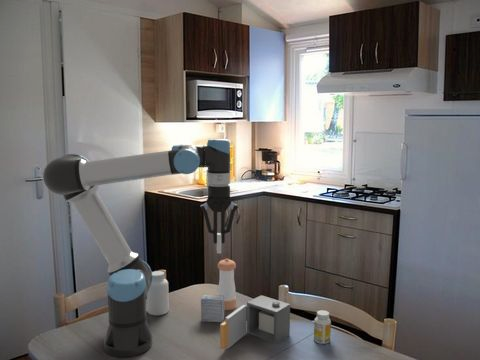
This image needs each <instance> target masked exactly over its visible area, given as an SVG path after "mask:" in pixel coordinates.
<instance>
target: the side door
mask: <svg viewBox="0 0 480 360" xmlns="http://www.w3.org/2000/svg"><path fill="white" fill-rule="evenodd" d="M246 316H247V304H242V305H241V306H240V307H238V308H237V309H234V311H233V312H231V313H229V314H228V315H227V316H225V317H224V320H223V322H221V323H220V326H219V331H220V332H219V341H220V343H219V344H220V345H219V347H220V350H225V349H230V348H231V347H232V346H233V345H234V344H236V343H237V342H238V341H239V340H240V339H242V338H243V337H244V336H245V335H246V334H247V321H246Z"/></svg>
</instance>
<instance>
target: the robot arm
mask: <svg viewBox="0 0 480 360" xmlns="http://www.w3.org/2000/svg"><path fill="white" fill-rule="evenodd" d="M199 168H207V184H208V185H207V199H206V202H205V203H203V204H200V210H201V211H202V213H203V216H204V220H205V223H206V228H207V231H208V233H209V234H212V235H213V236H212V237H213V239H212V240H213V244H214V245H215V244H216V254H222V244H225V239H226V238H225V237H226V236H225V235H226V234H227V233H230V232H231V228H232V224H233V221H234V216H235V214H236V213H235V212H236V211H237V209H238V204H236V203H234V202H232V199H231V186H230V185H229V184H231V143H230V141H229V140H228V139H226V138H210V139H207V143H206V144H202V145H201V144H199V145H197V144H177V145H176V144H175V145H172V147H171V149H170V150H164V151H163V150H162V151H158V152H157V151H156V152H150V153H149V152H148V153H141V154H134V155H128V156H127V155H126V156H120V157H114V158H113V157H112V158H104V159H97V160H91V161H90V160H89V159H87V157H85V156H83V155H81V154H76V153H75V154H74V153H73V154H72V153H70V154H69V153H68V154H66V155H63V156H60V157H58V158H55V159H53V160H51V161H50V162H48V163H47V164H46V166H45V168H44V170H43V173H42V178H43V179H42V180H43V182H44V185H45V187H46V188H47V189H48V190H49V191H50V192H52V193H54V194H56V195H61V196H63V198H64V199H65V202H67V203H71V204H73V205H74V208H75V209H76V210H77V212H78V214H79V216H80V218H81V219H82V220H83V221H82V222H84V224H85V226H86V227H87V229H88V231H89V233H90V235H91V236H92V238H93V240H94V241H95V243H96V245H97V247H98V249H99V250H100V252H101V254H102V256H103V257H104V259H105V260H106V262H107V263H108V267H107V272H108V275H109V277H108V279H107V286H106V292H107V304H108V305H107V309H108V312H107V313H108V325H107V328H106V329H107V330H106V333H105V336H104V340H103V349H104V352H105V353H107V354H108V355H110V356H113V357H119V358H127V357H134V356H138V355H141V354H143V353H145V352H147V351H148V350H149V349H151V347H152V346H153V334H152V332H151V330H150V327H149V324H148V321H147V293H148V291H149V288H150V286H151V283H152V272H153V271H152V269H151V267H150V265H149V264H148V263H147V262H146V261H145V260H143V259H142V258H141V256H140V255H139V253H138V252H134V251H132V249H131V248H130V246H129V244H128V243H127V241H126V238H125V237H124V235H123V234H122V232H121V231H120V228H119V227H118V224H117V223H116V222H115V220H114V218H113V216H112V215H111V213H110V211H109V209H108V208H107V205H106V204H105V203H104V201H103V199H102V197H101V195H100V194H99V192H98V188H99V186H102V185H103V186H104V185H108V184H109V185H110V184H116V183H117V184H118V183H124V182H129V181H138V180H142V179H143V180H145V179H152V178H158V177H165V176H172V175H181V174H182V175H190V174H193V173H195V172H196V171H197V169H199ZM208 208H209V209H210V210H211V211H212V215H213V217H212V221H213V222H212V223H213V226H211V222H210V218H209V213H208ZM228 208H230V211H229V215H228V218H227V224H226V222H225V221H226V217H225V216H226V211H227V209H228ZM218 213H220V232H218ZM225 225H226V227H225Z"/></svg>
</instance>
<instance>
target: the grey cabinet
mask: <svg viewBox="0 0 480 360" xmlns="http://www.w3.org/2000/svg"><path fill="white" fill-rule="evenodd" d="M246 305H247V316H246V334H248V335H251V336H254V337H257V338H259V339H262V340H264V341H267V342H269V343H272V344H275V345H277V344H279V343H280V342H281V341H283V340H284V339H285V338H287V337H289V336H290V329H291V328H290V327H291V325H290V323H291V321H290V320H291V304H290V303H287V302H284V301H282V300H278V299H274V298H271V297H268V296H265V295H259V296H257V297H255V298H253V299H251V300H249V301H247V303H246Z"/></svg>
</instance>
